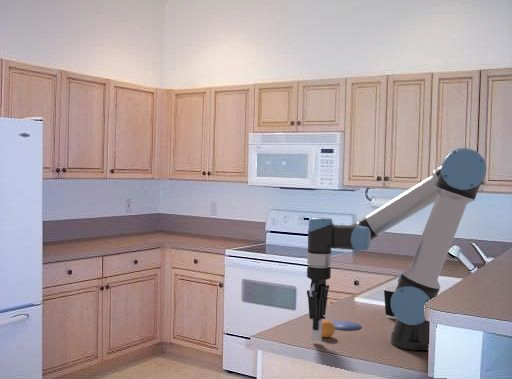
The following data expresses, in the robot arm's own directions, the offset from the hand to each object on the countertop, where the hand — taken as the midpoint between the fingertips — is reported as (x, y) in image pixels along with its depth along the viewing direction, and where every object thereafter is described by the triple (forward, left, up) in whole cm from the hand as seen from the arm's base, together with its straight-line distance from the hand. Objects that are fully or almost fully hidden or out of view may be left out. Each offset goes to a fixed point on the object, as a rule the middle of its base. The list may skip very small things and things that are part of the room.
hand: (316, 339), depth 181 cm
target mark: (+14, -21, -1) cm, 25 cm away
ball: (+5, -7, +1) cm, 8 cm away
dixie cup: (+17, -47, -2) cm, 50 cm away
